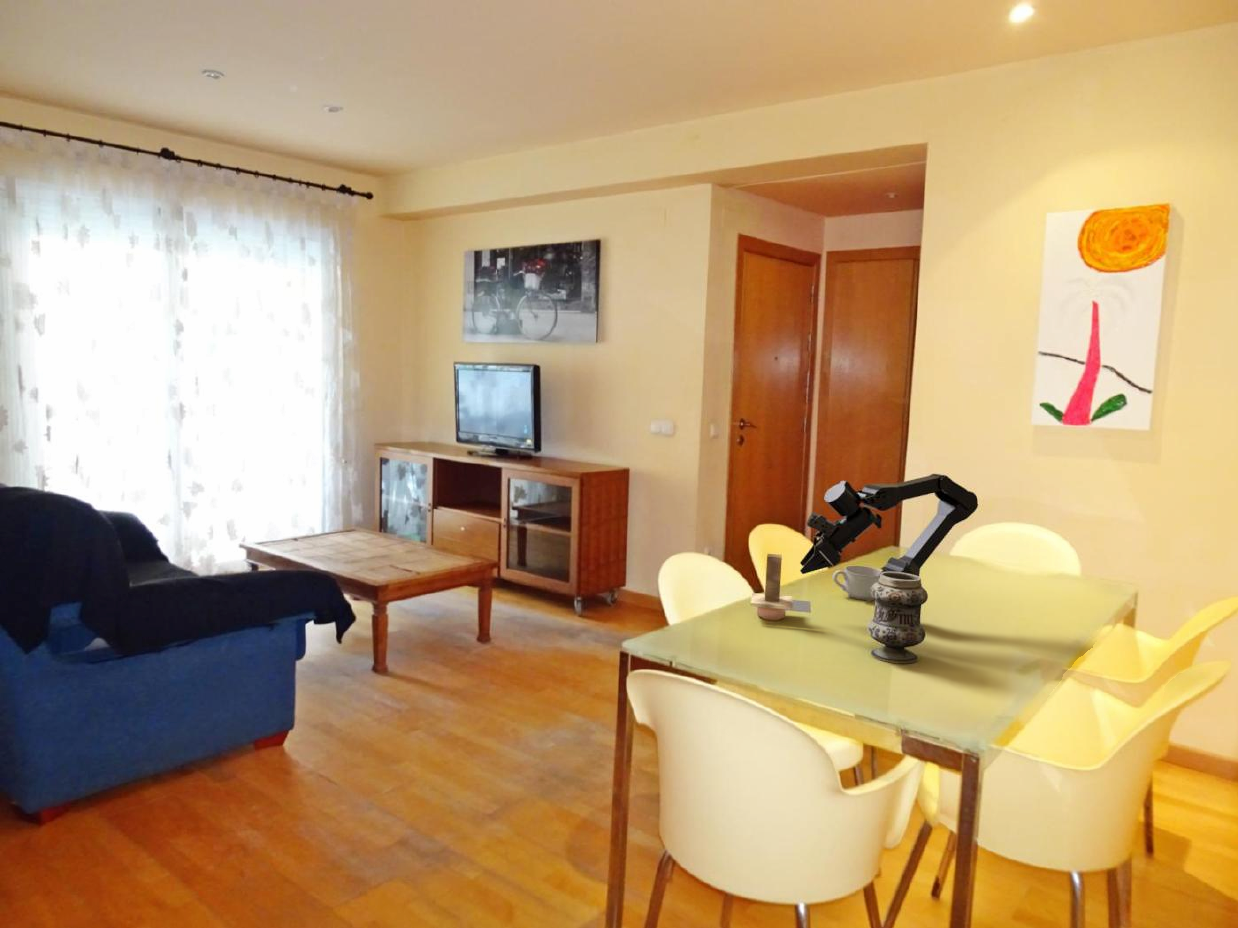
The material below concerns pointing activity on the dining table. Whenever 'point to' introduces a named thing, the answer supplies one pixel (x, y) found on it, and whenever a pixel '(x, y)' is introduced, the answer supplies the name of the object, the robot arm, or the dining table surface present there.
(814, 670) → the dining table surface
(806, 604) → the rubber mat
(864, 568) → the teacup
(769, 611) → the pink rounded disc
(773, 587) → the brown wooden post
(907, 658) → the apothecary jar
